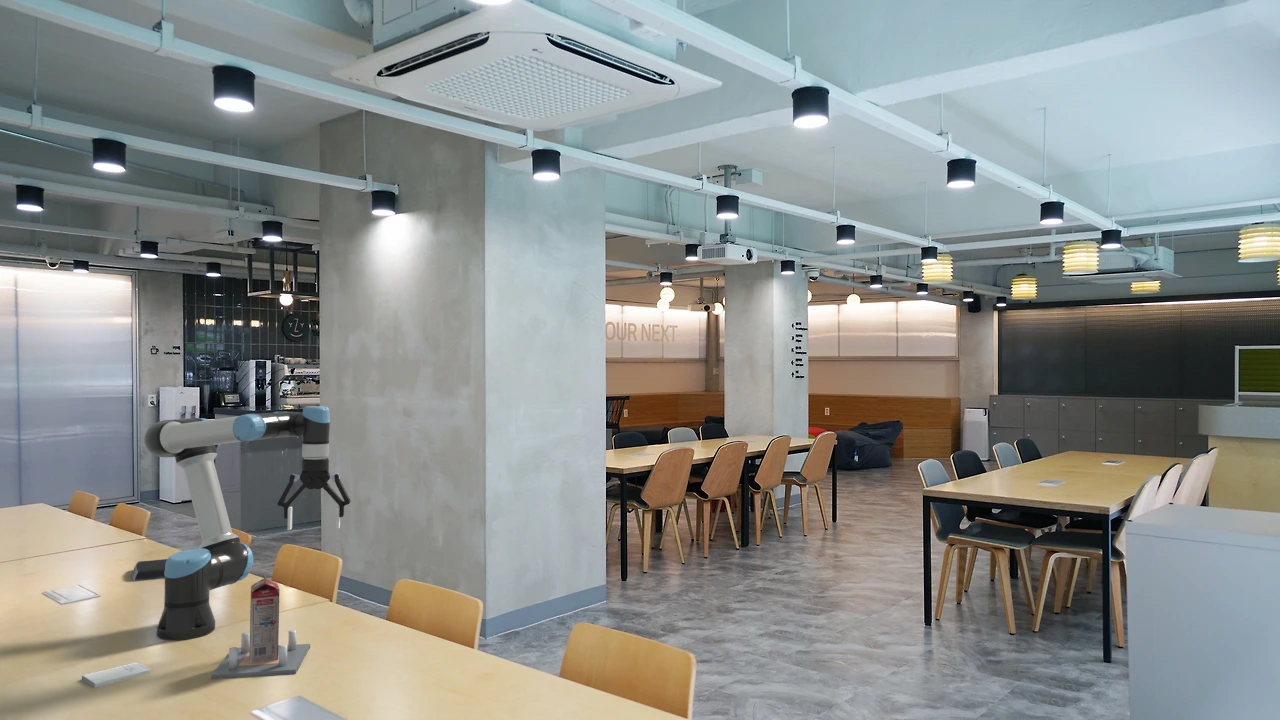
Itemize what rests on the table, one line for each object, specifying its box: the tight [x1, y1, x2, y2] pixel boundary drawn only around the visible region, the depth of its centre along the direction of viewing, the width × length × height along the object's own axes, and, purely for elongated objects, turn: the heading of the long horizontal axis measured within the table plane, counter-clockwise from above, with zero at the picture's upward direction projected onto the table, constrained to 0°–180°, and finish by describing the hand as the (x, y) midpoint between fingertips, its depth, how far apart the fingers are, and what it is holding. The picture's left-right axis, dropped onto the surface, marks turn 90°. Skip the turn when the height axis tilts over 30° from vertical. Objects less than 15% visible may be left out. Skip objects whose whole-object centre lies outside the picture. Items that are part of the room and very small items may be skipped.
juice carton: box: [249, 572, 280, 664], centre depth 215 cm, size 7×7×22 cm
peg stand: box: [210, 629, 311, 679], centre depth 215 cm, size 20×20×6 cm
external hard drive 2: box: [81, 661, 151, 689], centre depth 204 cm, size 2×8×12 cm
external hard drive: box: [131, 558, 168, 582], centre depth 304 cm, size 13×19×4 cm
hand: (314, 528), depth 240 cm, fingers open, 13 cm apart
